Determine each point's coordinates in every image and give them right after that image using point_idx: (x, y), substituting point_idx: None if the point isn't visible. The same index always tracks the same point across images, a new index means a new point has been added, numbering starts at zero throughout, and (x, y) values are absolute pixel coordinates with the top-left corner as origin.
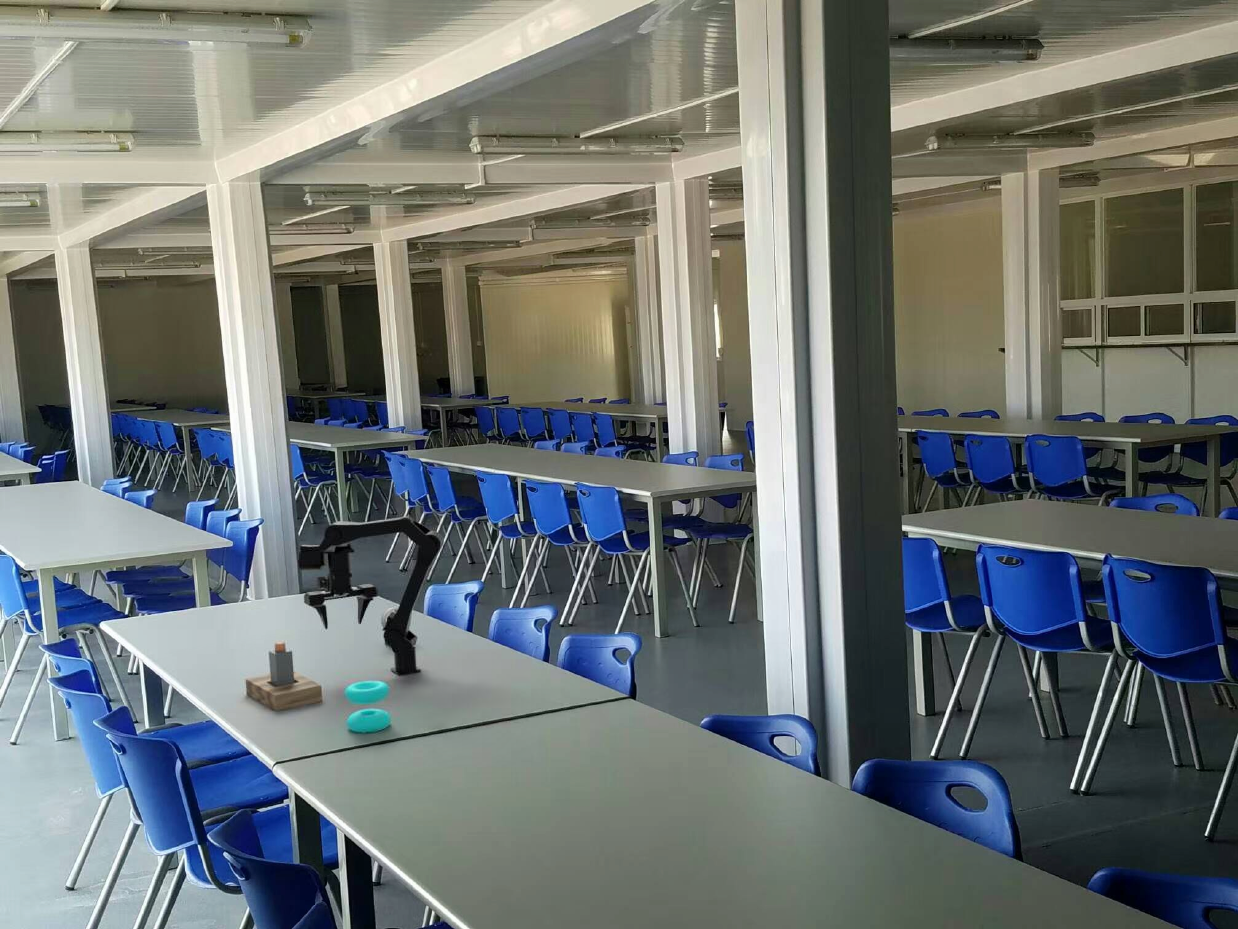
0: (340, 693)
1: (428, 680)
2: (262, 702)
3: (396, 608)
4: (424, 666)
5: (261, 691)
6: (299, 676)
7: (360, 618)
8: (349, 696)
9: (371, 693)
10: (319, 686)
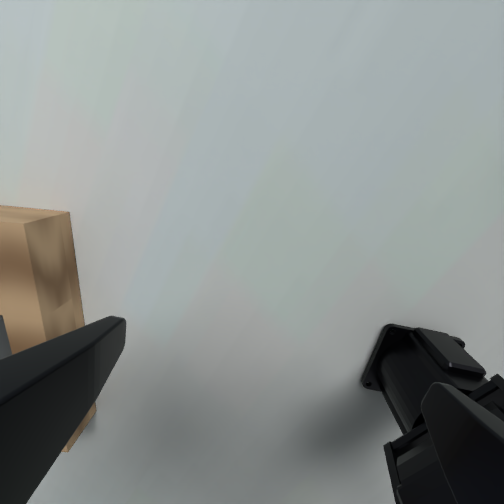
0: (157, 393)
1: (375, 460)
2: None
3: None
4: (481, 360)
5: None
6: (34, 334)
7: (453, 483)
8: None
9: None
10: (63, 449)
